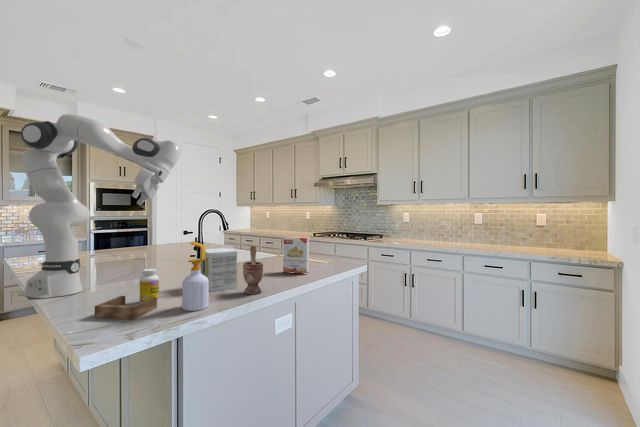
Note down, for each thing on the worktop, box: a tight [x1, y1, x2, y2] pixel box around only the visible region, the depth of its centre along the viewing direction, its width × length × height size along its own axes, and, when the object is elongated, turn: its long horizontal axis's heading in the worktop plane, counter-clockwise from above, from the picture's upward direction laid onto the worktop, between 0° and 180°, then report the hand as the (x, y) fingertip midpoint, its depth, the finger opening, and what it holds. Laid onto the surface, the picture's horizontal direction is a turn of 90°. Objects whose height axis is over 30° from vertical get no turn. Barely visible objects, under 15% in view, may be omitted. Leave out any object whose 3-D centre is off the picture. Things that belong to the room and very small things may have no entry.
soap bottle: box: [181, 241, 210, 312], centre depth 116 cm, size 9×9×25 cm
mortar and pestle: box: [242, 245, 264, 295], centre depth 139 cm, size 12×9×20 cm
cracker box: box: [282, 236, 310, 274], centre depth 180 cm, size 14×6×21 cm, turn 81°
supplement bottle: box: [139, 268, 160, 303], centre depth 122 cm, size 7×7×13 cm
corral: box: [94, 295, 158, 321], centre depth 110 cm, size 14×12×4 cm
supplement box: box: [199, 247, 238, 293], centre depth 147 cm, size 13×13×18 cm
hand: (136, 200), depth 128 cm, fingers open, 8 cm apart
